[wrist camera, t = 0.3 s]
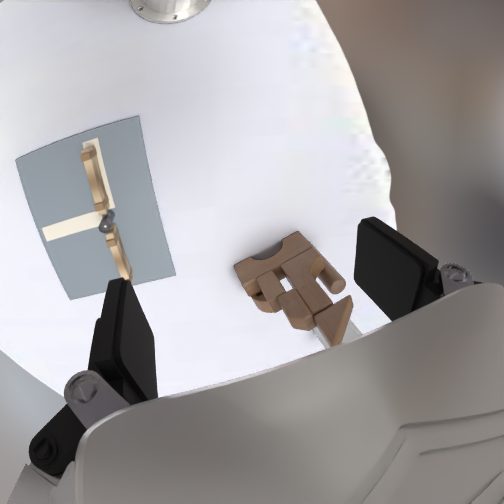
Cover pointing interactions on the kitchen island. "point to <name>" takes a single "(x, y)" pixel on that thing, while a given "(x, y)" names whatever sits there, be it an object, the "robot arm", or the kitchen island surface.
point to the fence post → (106, 221)
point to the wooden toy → (298, 288)
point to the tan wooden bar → (119, 253)
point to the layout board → (83, 212)
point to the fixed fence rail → (95, 179)
